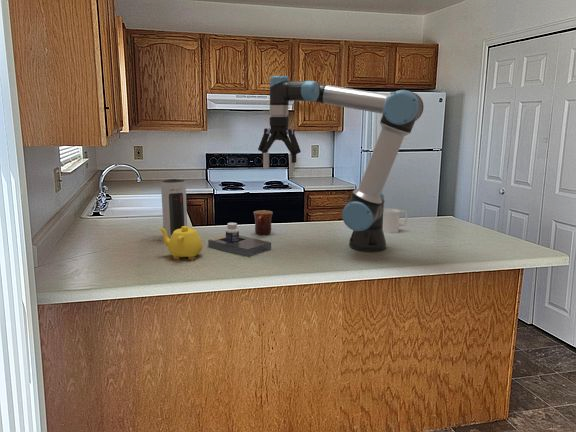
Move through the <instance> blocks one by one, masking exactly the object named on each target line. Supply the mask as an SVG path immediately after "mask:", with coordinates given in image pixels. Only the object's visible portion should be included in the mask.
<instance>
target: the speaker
mask: <svg viewBox="0 0 576 432" xmlns="http://www.w3.org/2000/svg"><path fill="white" fill-rule="evenodd" d="M186 182H187V181H186V180H185V179H177V178H170V179H164V180H161V181H160V191H161V192H160V193H161V207H162V208H161V209H162V228H164V229H165V230H166V232H167V236H168V238H169V239H170V238H171V236H172V234H173V232H174V231H175V230H177V229H181V227H182V226H188V210H187V207H188V206H187V188H186V187H187V185H186Z"/></svg>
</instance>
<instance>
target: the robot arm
mask: <svg viewBox="0 0 576 432" xmlns="http://www.w3.org/2000/svg"><path fill="white" fill-rule="evenodd" d="M268 89H269V116H271V117H269V128H268V127H267V128H264V129H263V134H262V138H261V139H260V143H259V146H258V148H257V150H258V151H259V152H261V155H262V156H261V159H262V163H263V168H262V169H263V170H264V169H265V170H266V169H270V152H269V150H270V149H271V147H272V146H273V144H274V142H275V141H282V142H283V143H284V145H285V147H286V148H287V149H288V151H289V153H290V154H288V156H289V157H288V158H289V159H288V161H289V162H288V164H289V165H288V168H289V169H288V171H289V172H295V171H296V170H295V169H296V163H297V155H298V154H301V151H302V150H301V148H300V145H299V143H298V140H297V137H296V135H295V129H294V128H289V129H288V127H289V102H309V103H310V102H312V103H317V104H324V105H330V106H334V107H335V106H336V107H341V108H347V109H354V110H359V111H364V112H370V113H375V114H376V113H377V114H382V116H381V118H380V121H379V124H380V127H381V130H380V132H379V135H378V138H377V140H376V142H375V145H374V148H373V150H372V153H371V155H370V158H369V160H368V163H367V167H366V168H365V171H364V172H363V173H364V174H363V177H362V179H361V181H360V183H359V187H358V188H356V189H354V190H352V194H351V196H350V198H349V201H348V203H346V205H345V206H344V207H343V210H342V215H341V217H342V221H343V222H344V225H345V226H346V227H348V229H350V230H352V233H351V235H350V239H349V240H348V241H349V244H348V246H349V248H350V249H353V250H355V251H361V252H372V253H373V252H380V251H384V250H386V249H387V241H386V238H385V234H384V233H385V232H383V212H384V209H385V195H384V194H383V193H382V192H383V191H384V188H385V184H386V183H387V179H388V178H389V175H390V174H391V173H390V172H391V170H392V168H393V165H394V163H395V161H396V158H397V156H398V153H399V151H400V148H401V145H402V143H403V141H404V139H405V137H406V136H408V135H410V134H411V133H412V130H413V128H414V125H415V122H416V121H418V120H419V119H420V118H421V116H422V115H423V113H424V108H425V107H424V102H423V99H422V98H421V97H420V95H419V94H417V93H415V92H413V91H410V90H406V89H400V90H396V91H390V92H389V93H381V92H376V91H368V90H362V89H357V88H355V89H354V88H351V87H342V86H337V85H331V84H324V83H318V82H317V81H316V80H296V81H295V80H294V81H293V80H290V78H289V76H287V75H272V76H271V77H270V79H269V88H268Z"/></svg>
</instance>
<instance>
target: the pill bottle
mask: <svg viewBox="0 0 576 432" xmlns="http://www.w3.org/2000/svg"><path fill="white" fill-rule="evenodd" d="M226 225H227V227H226V229H225V236H226V242H230V243H235V242H238V241H239V235H240V230H239V228H238V223H237V222H228V223H227V224H226Z"/></svg>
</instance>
